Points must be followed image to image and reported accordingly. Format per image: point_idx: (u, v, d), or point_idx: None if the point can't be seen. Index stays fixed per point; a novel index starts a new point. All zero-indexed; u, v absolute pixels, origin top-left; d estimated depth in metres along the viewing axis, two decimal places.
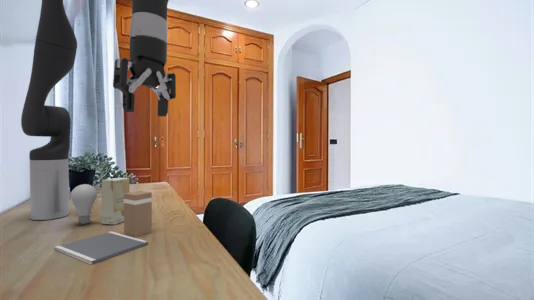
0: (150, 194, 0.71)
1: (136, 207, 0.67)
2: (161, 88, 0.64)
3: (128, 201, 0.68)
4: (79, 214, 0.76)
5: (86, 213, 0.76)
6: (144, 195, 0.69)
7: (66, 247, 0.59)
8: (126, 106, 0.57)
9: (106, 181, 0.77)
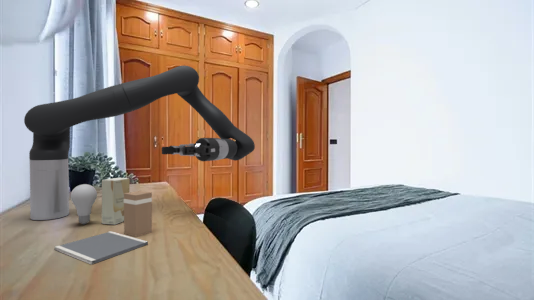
0: (150, 194, 0.71)
1: (136, 207, 0.68)
2: (182, 154, 0.86)
3: (128, 201, 0.68)
4: (79, 214, 0.76)
5: (86, 213, 0.76)
6: (144, 195, 0.69)
7: (66, 247, 0.59)
8: (188, 152, 0.77)
9: (106, 181, 0.77)
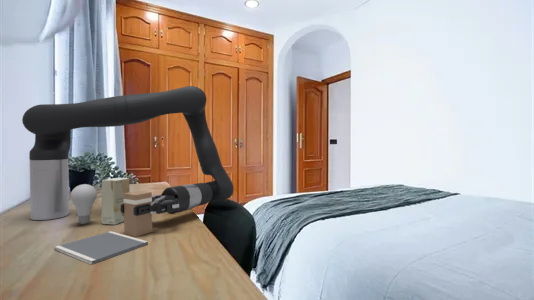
0: (150, 194, 0.71)
1: None
2: None
3: (128, 201, 0.68)
4: (79, 214, 0.76)
5: (86, 213, 0.76)
6: (144, 195, 0.69)
7: (66, 247, 0.59)
8: (140, 213, 0.67)
9: (106, 181, 0.77)
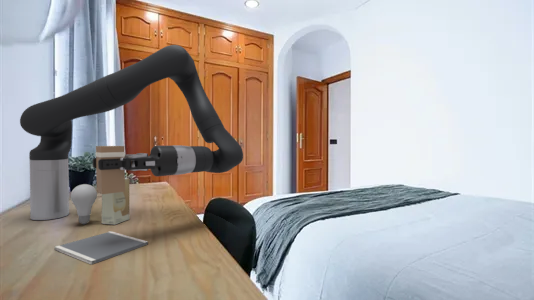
0: (122, 148, 0.61)
1: None
2: None
3: (97, 154, 0.60)
4: (79, 214, 0.76)
5: (86, 213, 0.76)
6: (114, 148, 0.60)
7: (66, 247, 0.59)
8: (105, 167, 0.58)
9: None
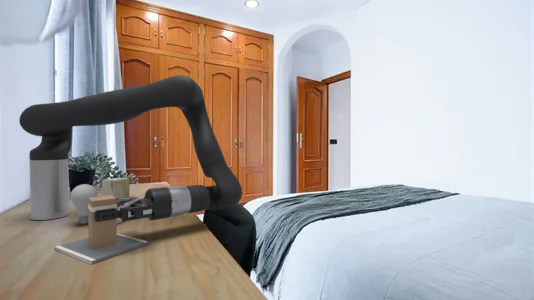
0: (114, 200, 0.60)
1: None
2: None
3: (89, 207, 0.59)
4: (79, 214, 0.76)
5: (86, 213, 0.76)
6: (105, 201, 0.59)
7: (66, 247, 0.59)
8: (101, 219, 0.56)
9: (106, 181, 0.77)
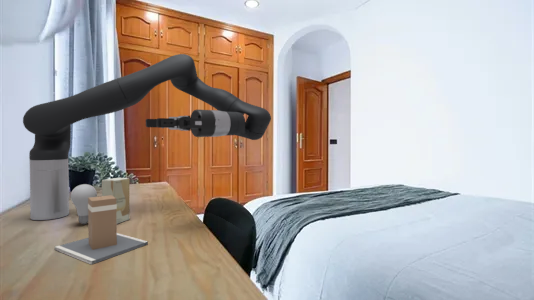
0: (114, 200, 0.60)
1: (94, 215, 0.58)
2: (171, 128, 0.76)
3: (89, 207, 0.59)
4: (79, 214, 0.76)
5: (86, 213, 0.76)
6: (105, 201, 0.59)
7: (66, 247, 0.59)
8: (162, 124, 0.66)
9: (106, 181, 0.77)
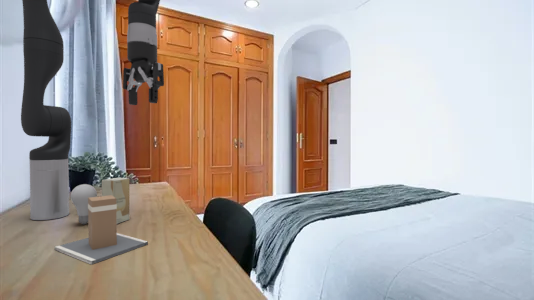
0: (114, 200, 0.60)
1: (94, 215, 0.58)
2: (140, 83, 0.80)
3: (89, 207, 0.59)
4: (79, 214, 0.76)
5: (86, 213, 0.76)
6: (105, 201, 0.59)
7: (66, 247, 0.59)
8: (157, 99, 0.75)
9: (106, 181, 0.77)
